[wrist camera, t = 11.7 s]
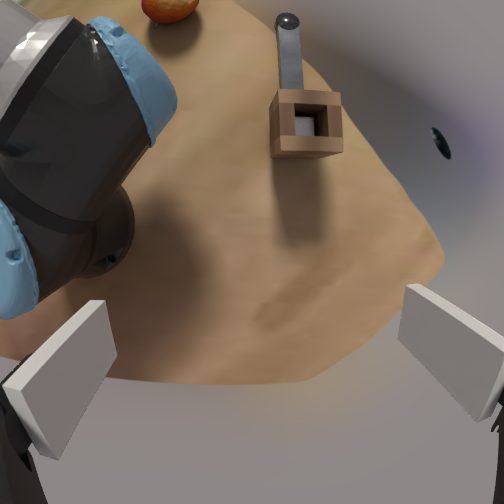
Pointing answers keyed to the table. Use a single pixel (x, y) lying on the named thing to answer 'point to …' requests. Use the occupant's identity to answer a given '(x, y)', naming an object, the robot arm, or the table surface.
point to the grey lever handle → (291, 65)
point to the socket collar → (305, 105)
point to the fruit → (168, 10)
